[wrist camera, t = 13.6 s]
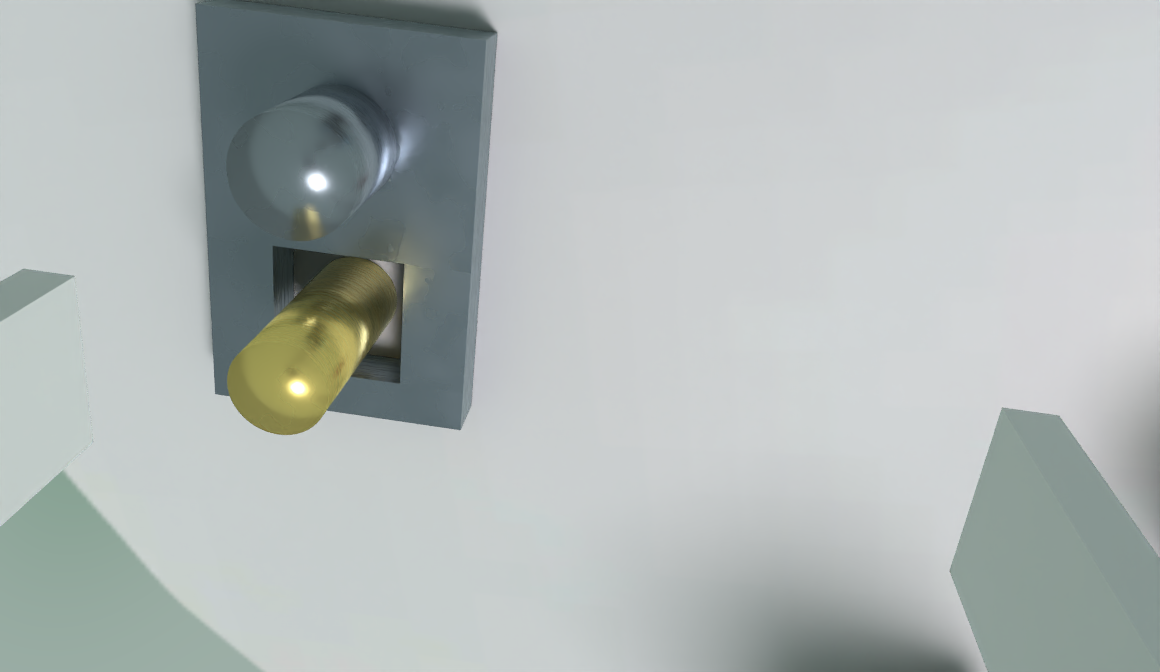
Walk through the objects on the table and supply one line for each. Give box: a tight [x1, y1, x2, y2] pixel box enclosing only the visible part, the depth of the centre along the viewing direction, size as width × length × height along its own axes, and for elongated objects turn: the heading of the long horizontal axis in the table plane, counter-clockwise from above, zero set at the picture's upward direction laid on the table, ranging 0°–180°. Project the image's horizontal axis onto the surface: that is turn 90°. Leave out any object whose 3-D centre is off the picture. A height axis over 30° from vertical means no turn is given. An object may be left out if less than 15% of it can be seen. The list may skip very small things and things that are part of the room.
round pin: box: [227, 257, 397, 435], centre depth 43 cm, size 4×4×10 cm
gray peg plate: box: [195, 0, 497, 430], centre depth 42 cm, size 18×12×8 cm, turn 174°
